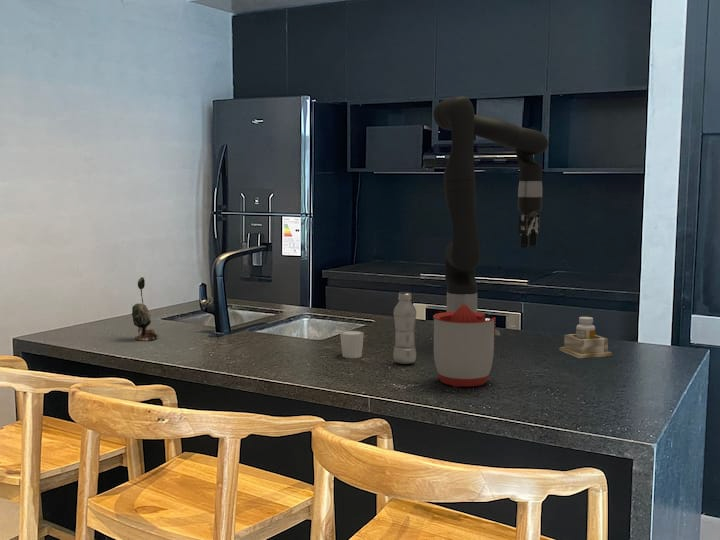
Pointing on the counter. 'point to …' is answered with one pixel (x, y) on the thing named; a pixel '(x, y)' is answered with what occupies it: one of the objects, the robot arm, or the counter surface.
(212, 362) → the counter surface
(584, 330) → the supplement bottle
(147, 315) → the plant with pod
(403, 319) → the plastic bottle
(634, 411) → the counter surface
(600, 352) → the open square wooden box
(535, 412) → the counter surface
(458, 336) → the citrus juicer
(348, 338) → the shot glass
